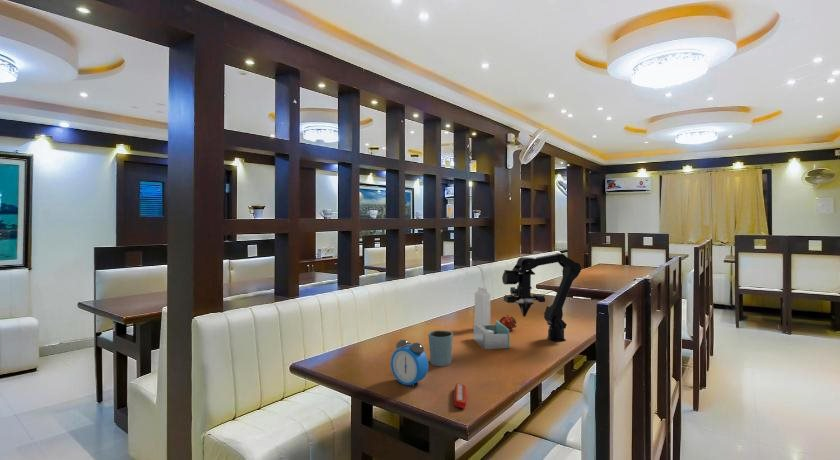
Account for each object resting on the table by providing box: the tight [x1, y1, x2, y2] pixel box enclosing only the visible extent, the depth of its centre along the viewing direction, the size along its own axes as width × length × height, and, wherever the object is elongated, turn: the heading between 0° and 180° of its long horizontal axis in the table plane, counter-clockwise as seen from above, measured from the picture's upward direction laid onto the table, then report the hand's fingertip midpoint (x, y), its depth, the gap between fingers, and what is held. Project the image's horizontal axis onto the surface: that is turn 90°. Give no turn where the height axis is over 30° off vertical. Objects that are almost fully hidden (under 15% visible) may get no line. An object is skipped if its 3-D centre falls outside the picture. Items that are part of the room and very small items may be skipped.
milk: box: [474, 287, 491, 325], centre depth 218 cm, size 6×6×22 cm
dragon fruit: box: [499, 314, 517, 332], centre depth 215 cm, size 8×8×12 cm
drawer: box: [494, 320, 510, 349], centre depth 193 cm, size 11×17×8 cm, turn 8°
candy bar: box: [453, 382, 467, 410], centre depth 133 cm, size 16×4×3 cm, turn 174°
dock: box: [472, 323, 509, 350], centre depth 192 cm, size 11×17×7 cm, turn 8°
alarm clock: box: [390, 339, 429, 388], centre depth 146 cm, size 13×6×15 cm, turn 53°
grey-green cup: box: [427, 330, 454, 367], centre depth 167 cm, size 10×10×12 cm
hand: (524, 316), depth 195 cm, fingers closed
